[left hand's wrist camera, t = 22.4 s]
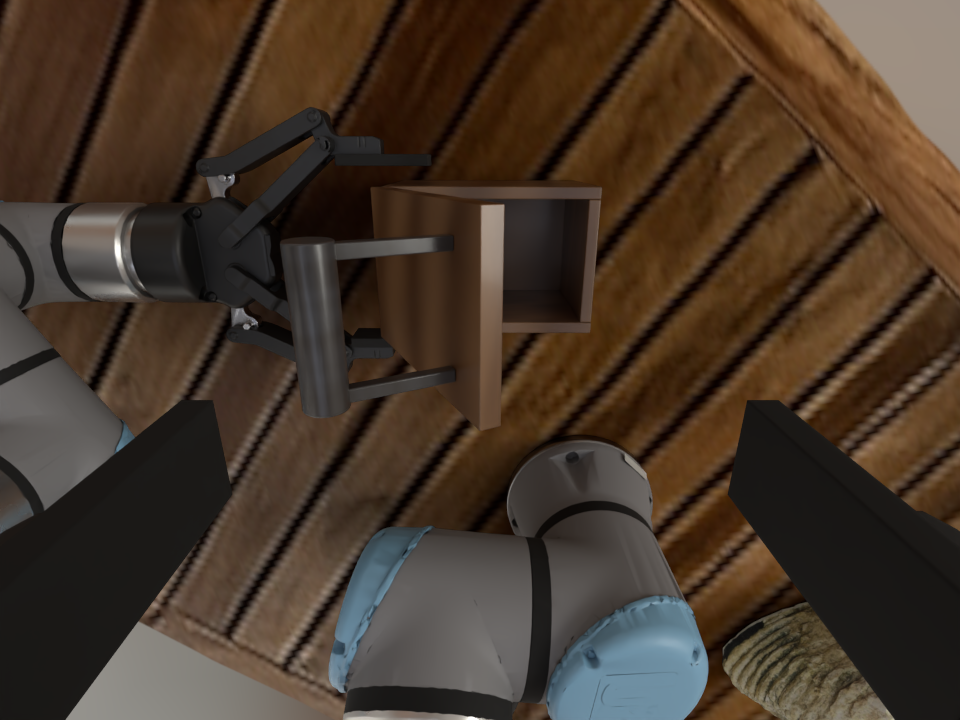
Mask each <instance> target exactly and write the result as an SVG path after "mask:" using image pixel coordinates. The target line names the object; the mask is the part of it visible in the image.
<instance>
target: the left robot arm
mask: <svg viewBox="0 0 960 720" xmlns="http://www.w3.org/2000/svg"><path fill="white" fill-rule="evenodd" d="M231 495H232V491H231V486H230V481H229V476H228V472H227V467H226V462H225V457H224V452H223V448H222V443H221V438H220V433H219V428H218V423H217V419H216V414H215V409H214V404H213V400H181V401H180V402H179V403H178V404H176V405H175V406H174V407H173V408H171V409H170V410H169V411H168V412H166V413H165V414H164V415H163V416H161V417H160V418H159V419H158V420H156V421H155V422H154V423H153V424H151V425H150V426H149V427H148V428H146V429H145V430H144V431H143V432H142V433H140V434H139V435H138V436H137V437H135V438H134V439H133V440H132V441H130V442H129V443H128V444H127V445H125V446H124V447H123V448H122V449H120V450H119V451H118V452H117V453H115V454H114V455H113V456H112V457H110V458H109V459H108V460H107V461H106V462H104V463H103V464H102V465H101V466H99V467H98V468H97V469H96V470H94V471H93V472H92V473H91V474H89V475H88V476H87V477H86V478H84V479H83V480H82V481H81V482H79V483H78V484H77V485H76V486H74V487H73V488H72V489H71V490H70V491H68V492H67V493H66V494H65V495H63V496H62V497H61V498H60V499H58V500H57V501H56V502H55V503H53V504H52V505H51V506H50V507H48V508H47V509H46V510H45V511H43V512H42V513H37V514H35V515H33V516H31V517H30V518H28V519H26V520H24V521H22V522H20V523H18V524H16V525H15V526H13V527H11V528H9V529H7V530H5V531H4V532H2V533H1V534H0V720H66V718H67V717H68V715H69V714H70V713H71V711H72V710H73V709H74V707H75V706H76V705H77V703H78V702H79V701H80V699H81V698H82V697H83V695H84V694H85V692H86V691H87V690H88V688H89V687H90V686H91V684H92V683H93V682H94V680H95V679H96V678H97V676H98V675H99V674H100V672H101V671H102V670H103V668H104V667H105V666H106V664H107V663H108V661H109V660H110V659H111V657H112V656H113V655H114V653H115V652H116V651H117V649H118V648H119V647H120V645H121V644H122V643H123V641H124V640H125V639H126V637H127V636H128V634H129V633H130V632H131V630H132V629H133V628H134V626H135V625H136V624H137V622H138V621H139V620H140V618H141V617H142V616H143V614H144V613H145V611H146V610H147V609H148V607H149V606H150V605H151V603H152V602H153V601H154V599H155V598H156V597H157V595H158V594H159V593H160V591H161V590H162V589H163V587H164V586H165V584H166V583H167V582H168V580H169V579H170V578H171V576H172V575H173V574H174V572H175V571H176V570H177V568H178V567H179V566H180V564H181V563H182V562H183V560H184V559H185V557H186V556H187V555H188V553H189V552H190V551H191V549H192V548H193V547H194V545H195V544H196V543H197V541H198V540H199V539H200V537H201V536H202V535H203V533H204V532H205V530H206V529H207V528H208V526H209V525H210V524H211V522H212V521H213V520H214V518H215V517H216V516H217V514H218V513H219V512H220V510H221V509H222V508H223V506H224V505H225V503H226V502H227V501H228V499H229V498H230V497H231ZM728 495H729V497H730V498H731V499H732V501H733V502H734V503H735V505H736V506H737V508H738V509H739V510H740V512H741V513H742V514H743V516H744V517H745V518H746V520H747V521H748V522H749V524H750V525H751V526H752V528H753V529H754V530H755V532H756V533H757V535H758V536H759V537H760V539H761V540H762V541H763V543H764V544H765V545H766V547H767V548H768V549H769V551H770V552H771V553H772V555H773V556H774V557H775V559H776V560H777V562H778V563H779V564H780V566H781V567H782V568H783V570H784V571H785V572H786V574H787V575H788V576H789V578H790V579H791V580H792V582H793V583H794V584H795V586H796V587H797V589H798V590H799V591H800V593H801V594H802V595H803V597H804V598H805V599H806V601H807V602H808V603H809V605H810V606H811V607H812V609H813V610H814V611H815V613H816V614H817V616H818V617H819V618H820V620H821V621H822V622H823V624H824V625H825V626H826V628H827V629H828V630H829V632H830V633H831V634H832V636H833V637H834V639H835V640H836V641H837V643H838V644H839V645H840V647H841V648H842V649H843V651H844V652H845V653H846V655H847V656H848V657H849V659H850V660H851V661H852V663H853V664H854V666H855V667H856V668H857V670H858V671H859V672H860V674H861V675H862V676H863V678H864V679H865V680H866V682H867V683H868V684H869V686H870V687H871V688H872V690H873V691H874V693H875V694H876V695H877V697H878V698H879V699H880V701H881V702H882V703H883V705H884V706H885V707H886V709H887V710H888V711H889V713H890V714H891V715H892V717H893V718H894V720H960V531H958V530H957V529H955V528H953V527H952V526H950V525H948V524H946V523H944V522H942V521H940V520H938V519H936V518H935V517H933V516H931V515H929V514H927V513H925V512H923V511H915V510H914V509H913V508H912V507H910V506H909V505H908V504H907V503H905V502H904V501H903V500H902V499H900V498H899V497H898V496H897V495H895V494H894V493H893V492H892V491H890V490H889V489H888V488H887V487H886V486H884V485H883V484H882V483H881V482H879V481H878V480H877V479H876V478H874V477H873V476H872V475H871V474H869V473H868V472H867V471H866V470H864V469H863V468H862V467H861V466H859V465H858V464H857V463H856V462H854V461H853V460H852V459H851V458H850V457H848V456H847V455H846V454H845V453H843V452H842V451H841V450H840V449H838V448H837V447H836V446H835V445H833V444H832V443H831V442H830V441H828V440H827V439H826V438H825V437H823V436H822V435H821V434H820V433H818V432H817V431H816V430H815V429H814V428H812V427H811V426H810V425H809V424H807V423H806V422H805V421H804V420H802V419H801V418H800V417H799V416H797V415H796V414H795V413H794V412H792V411H791V410H790V409H789V408H787V407H786V406H785V405H784V404H782V403H781V402H780V401H779V400H747V404H746V409H745V414H744V419H743V423H742V428H741V433H740V438H739V443H738V448H737V452H736V457H735V462H734V467H733V472H732V476H731V481H730V486H729V491H728ZM507 511H508V517H509V520H510V523H511V526H512V529H513V531H514V533H515V535H516V536H515V535H503V534H491V533H479V532H469V531H459V530H450V529H440V528H435V527H434V526H426V527H423V528H421V527H388V528H385V529H383V530H381V531H379V532H378V533H376V534H375V535H374V536H373V537H372V538H371V540H370V541H369V542H368V544H367V545H366V547H365V549H364V550H363V552H362V554H361V556H360V558H359V560H358V563H357V565H356V567H355V570H354V572H353V575H352V577H351V580H350V583H349V586H348V589H347V592H346V595H345V598H344V601H343V604H342V608H341V611H340V615H339V618H338V622H337V627H336V631H335V637H336V640H335V641H334V645H333V649H332V652H331V656H330V663H329V680H330V682H331V684H332V686H333V687H335V688H337V689H338V690H339V692H341V693H347V691H348V694H347V700H346V705H345V711H344V717H343V720H512V714H513V712H514V710H515V709H516V707H517V704H518V702H525V703H537V704H546V706H547V708H548V714H549V715H550V718H551V719H552V720H683V719H684V718H686V716H687V715H688V714H689V713H690V712H691V711H692V710H693V709H694V707H695V706H696V704H697V703H698V701H699V699H700V698H701V696H702V694H703V691H704V689H705V686H706V682H707V677H708V659H707V654H706V650H705V647H704V645H703V642H702V639H701V636H700V634H699V631H698V628H697V625H696V621H695V616H694V614H693V611H692V609H691V608H690V607H689V605H688V604H687V603H686V601H685V599H684V597H683V595H682V593H681V590H680V588H679V586H678V584H677V582H676V580H675V578H674V576H673V574H672V572H671V569H670V567H669V565H668V563H667V561H666V559H665V557H664V555H663V553H662V551H661V548H660V546H659V544H658V542H657V540H656V538H655V536H654V534H653V532H652V521H651V515H652V493H651V488H650V484H649V481H648V479H647V474H646V472H645V471H644V470H643V468H642V467H641V465H640V463H639V462H638V461H637V459H636V458H635V457H634V456H633V455H632V454H631V453H630V452H629V451H628V450H627V449H625V448H624V447H622V446H621V445H619V444H617V443H615V442H613V441H610V440H607V439H604V438H600V437H596V436H586V435H578V436H568V437H563V438H559V439H556V440H553V441H550V442H548V443H546V444H544V445H542V446H540V447H538V448H537V449H535V450H534V451H532V452H531V453H530V454H528V455H527V456H526V457H525V458H524V459H523V460H522V461H521V463H520V464H519V465H518V466H517V468H516V469H515V471H514V473H513V474H512V477H511V479H510V482H509V485H508V489H507Z"/></svg>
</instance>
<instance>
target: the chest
mask: <svg viewBox="0 0 960 720" xmlns="http://www.w3.org/2000/svg"><path fill="white" fill-rule="evenodd" d="M381 187H393V188H399V189H406V190H413V191H420V192H427V193H434V194H441V195H448V196H454V197H461V198H468V199H475V200H482V201H489V202H496V203H503V204H504V205H505V210H504V264H503V317H502V333H590V325H591V323H590V322H591V312H592V300H593V288H594V276H595V264H596V252H597V240H598V228H599V216H600V204H601V200H600V199H601V193H602V187H600V186H595V185H591V184H586V183H582V182H577V181H529V180H403V181H399V182H396V183H392V184H388V185H385V186H381Z"/></svg>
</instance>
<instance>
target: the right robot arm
mask: <svg viewBox="0 0 960 720" xmlns="http://www.w3.org/2000/svg"><path fill="white" fill-rule="evenodd" d="M311 136H313V137H314V139H315V142H314V143H313V144H312V145H311V146H310V147H309V148H308V149H307V150H306V151H305V152H304V153H303V154H302V155H301V156H300V157H299V158H298V159H297V160H296V161H295V162H294V163H293V164H292V165H291V166H290V167H289V168H288V169H287V170H286V171H285V172H284V173H283V174H282V175H281V176H280V177H279V178H278V179H277V180H276V181H275V182H274V183H273V184H272V185H271V186H270V187H269V188H268V189H267V190H266V191H265V192H264V193H263V194H262V195H261V196H260V197H259V198H258V199H256V200H255V201H253V202H252V203H251V204H250V205H249V206H248V207H247V206H246V205H244V204H243V203H241V202H240V201H238V200H237V199H235V198H233V197H231V196H230V190H231V188H232V187H234V186H236V185H238V184H239V182H240V176H239V174H241V173H246V172H249V171H251V170H253V169H255V168H257V167H259V166H260V165H262V164H264V163H266V162H267V161H269V160H271V159H273V158H274V157H276V156H278V155H280V154H281V153H283V152H285V151H287V150H288V149H290V148H292V147H294V146H295V145H297V144H299V143H301V142H302V141H304V140H306V139H308V138H309V137H311ZM334 158H335V165H352V166H431V155H429V154H384V142H383V140H382V139H379V138H377V137H373V136H339V135H337V134H336V133H335V131H334V129H333V127H332V125H331V122H330V116H329V115H328V113H327V112H325V111H323V110H320V109H316V108H312V107H310V108H307V109H305V110H303V111H302V112H300V113H298V114H297V115H295V116H293V117H291V118H290V119H288V120H286V121H285V122H283V123H281V124H279V125H278V126H276V127H274V128H273V129H271V130H269V131H267V132H266V133H264V134H262V135H260V136H259V137H257V138H255V139H254V140H252V141H250V142H248V143H247V144H245V145H243V146H242V147H240V148H238V149H236V150H235V151H233V152H231V153H230V154H228V155H226V156H222V157H214V158H206V159H200V160H198V162H197V163H196V170H197V172H198V173H199V174H200V175H201V176H203V177H206V179H207V182H208V186H209V189H210V193H211V196H212V199H211V200H209V201H207V202H205V203H151V204H149V205H147V204H145V203H107V202H88V203H76V204H73V203H32V202H4V201H0V534H1V533H2V532H4V531H5V530H7V529H9V528H11V527H13V526H15V525H16V524H18V523H20V522H22V521H24V520H26V519H28V518H30V517H31V516H33V515H35V514H37V513H42V512H43V511H45V510H46V509H47V508H48V507H50V506H51V505H52V504H53V503H55V502H56V501H57V500H58V499H60V498H61V497H62V496H63V495H65V494H66V493H67V492H68V491H70V490H71V489H72V488H73V487H74V486H76V485H77V484H78V483H79V482H81V481H82V480H83V479H84V478H86V477H87V476H88V475H89V474H91V473H92V472H93V471H94V470H96V469H97V468H98V467H99V466H101V465H102V464H103V463H104V462H106V461H107V460H108V459H109V458H110V457H112V456H113V455H114V454H115V453H117V452H118V451H119V450H120V449H122V448H123V447H124V446H125V445H127V444H128V443H129V442H130V441H132V440H133V439H134V438H135V437H134V435H133V434H132V433H131V432H130V430H129V429H128V426H127V425H126V424H125V422H124V421H123V420H121V419H119V418H118V417H117V416H116V415H115V414H114V413H113V412H112V411H111V410H110V409H109V408H108V407H107V406H106V404H105V403H104V402H103V401H102V400H101V399H100V398H99V397H98V396H97V395H96V394H95V393H94V392H93V391H92V390H91V388H90V387H89V386H88V385H87V384H86V383H85V382H84V381H83V380H82V379H81V378H80V377H79V376H78V375H77V373H76V372H75V371H74V370H73V369H72V368H71V367H70V366H69V365H68V364H67V363H66V362H65V361H64V360H63V359H62V357H61V356H60V354H59V353H58V352H57V351H56V350H55V349H54V347H53V346H52V345H51V344H50V343H49V342H48V341H47V340H46V338H45V337H44V336H43V335H42V334H41V333H40V332H39V331H38V329H37V328H36V327H35V326H34V325H33V324H32V323H31V322H30V320H29V319H28V318H27V317H26V316H25V315H24V314H23V313H22V312H21V310H24V309H27V308H30V307H33V306H36V305H39V304H44V303H51V302H87V301H94V302H157V301H163V302H218V303H222V304H225V305H227V306H229V307H231V317H232V327H231V328H230V329H228V330H227V332H226V335H227V338H228V339H229V340H230V341H232V342H237V343H246V344H255V345H258V346H260V347H262V348H264V349H267V350H269V351H271V352H274V353H276V354H278V355H280V356H283V357H285V358H287V359H289V360H292V361H294V362H296V359H295V352H294V344H293V337H292V332H291V331H289V330H286V329H284V328H282V327H280V326H278V325H275V324H272V323H269V322H265V321H262V318H261V316H259V315H257V314H254V313H252V312H251V311H250V310H249V308H248V305H249V304H251V303H252V302H254V301H255V300H256V301H258V302H259V303H260V304H262V305H263V306H265V307H266V308H267V309H269V310H273V311H276V312H278V313H279V314H280V315H282V316H283V317H284V318H286V319H287V320H288V321H290V315H289V308H288V300H287V293H286V286H285V282H284V281H283V280H281V279H280V278H281V276H282V272H284V271H283V264H282V257H281V254H280V241H281V240H280V232H277V231H276V229H275V227H274V226H273V225H272V224H271V223H270V222H271V221H272V220H274V219H275V218H276V217H277V216H278V215H279V214H280V213H281V212H282V210H283V208H284V207H285V206H286V205H287V204H288V203H289V202H290V201H291V200H292V199H293V198H294V197H295V196H296V195H297V194H298V193H299V192H300V191H301V190H302V189H303V188H304V187H305V186H306V185H307V184H308V183H309V182H310V181H311V180H312V179H313V178H314V177H315V176H316V175H317V174H318V173H319V172H320V171H321V170H322V169H323V168H324V167H326V166H327V165H328V164H329V163H330V162H331V161H332V160H333V159H334ZM344 338H345V349H346V359H347V369H348V372H349V370H350V369H351V367H352V365H353V360H354V359H356V358H389V357H392V356H393V355H394V353H395V349H394V348H393V347H392V346H391V345H390V344H389V343H388V342H387V341H386V340H384V339H383V338H382V337H381V328H358V330H357V331H356V333H355V334H354V335H353V336H352V335H350V334H349V333H348V332H347V331H345V330H344Z"/></svg>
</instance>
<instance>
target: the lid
mask: <svg viewBox="0 0 960 720" xmlns="http://www.w3.org/2000/svg"><path fill="white" fill-rule="evenodd" d="M371 200H372V214H373V228H374V239H359V240H343V241H335V240H334V239H332V238H328V237H297V238H289V239H285V240H282V241H280V249H281V256H282V264H283V271H284V278H285V286H286V293H287V300H288V308H289V315H290V322H291V330H292V337H293V344H294V352H295V359H296V366H297V374H298V381H299V388H300V396H301V403H302V410H303V412H304V413H305V414H306V415H307V416H310V417H315V418H327V417H333V416H337V415H340V414H342V413H344V412H346V411H347V410H348V409H349V408H350V406H351V403H352V402H357V401H362V400H367V399H372V398H377V397H382V396H387V395H392V394H397V393H402V392H407V391H412V390H417V389H422V388H427V387H432V386H434V387H435V388H436V389H437V390H438V391H439V392H440V393H441V394H442V395H443V396H444V397H445V398H446V399H447V400H448V401H449V402H450V403H451V404H452V405H453V406H454V407H455V408H456V409H458V410H459V411H460V412H461V413H462V414H463V415H464V416H465V417H466V418H467V419H468V420H469V421H470V422H471V423H472V424H473V425H474V426H475V427H476V428H477V429H478V430H479V431H482V430H486V429H490V428H494V427H498V426H500V424H501V370H502V317H503V264H504V210H505V205H504V204H503V203H496V202H489V201H482V200H475V199H468V198H461V197H454V196H448V195H441V194H434V193H427V192H420V191H413V190H406V189H399V188H393V187H371ZM372 257H376V270H377V284H378V298H379V313H380V327H381V337H382V338H383V339H384V340H386V341H387V342H388V343H389V344H390V345H391V346H392V347H393V348H394V349H395V350H396V351H397V352H398V353H399V354H400V355H401V356H402V357H403V358H404V359H405V360H406V361H407V362H408V363H410V364H411V365H412V366H413V367H414V368H415V369H416V370H417V372H411V373H406V374H401V375H395V376H390V377H384V378H379V379H373V380H368V381H362V382H357V383H352V384H349V379H348V369H347V359H346V349H345V338H344V328H343V318H342V308H341V298H340V287H339V277H338V267H337V260H347V259H360V258H372Z"/></svg>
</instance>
